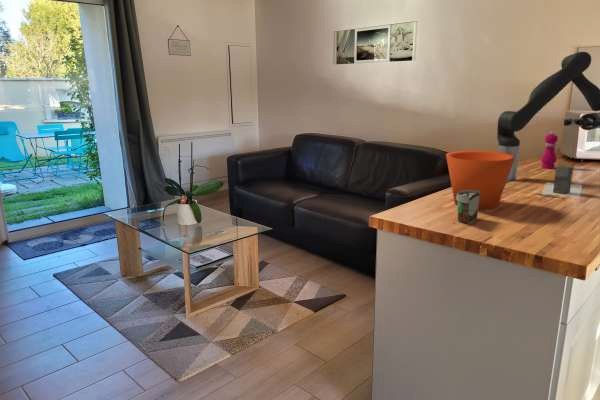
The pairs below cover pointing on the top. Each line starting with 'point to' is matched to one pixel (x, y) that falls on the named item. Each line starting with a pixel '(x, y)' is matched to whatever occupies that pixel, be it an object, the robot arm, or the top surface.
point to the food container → (467, 205)
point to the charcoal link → (563, 179)
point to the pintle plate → (574, 192)
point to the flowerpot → (480, 174)
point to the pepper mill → (549, 151)
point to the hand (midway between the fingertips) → (575, 123)
